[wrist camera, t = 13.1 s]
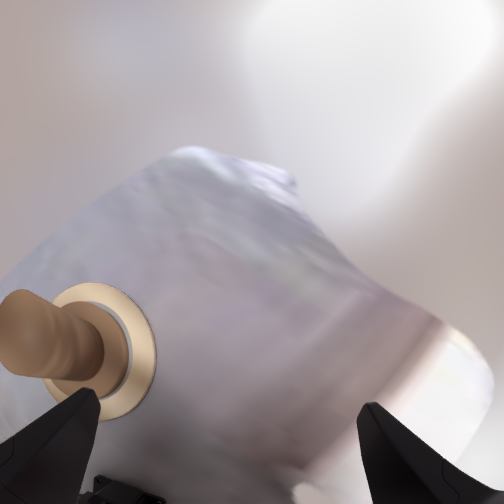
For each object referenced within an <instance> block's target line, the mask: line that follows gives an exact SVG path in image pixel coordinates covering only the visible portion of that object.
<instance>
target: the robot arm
mask: <svg viewBox="0 0 504 504" xmlns="http://www.w3.org/2000/svg"><path fill="white" fill-rule="evenodd" d="M100 411H101V404H100V402H99V399H98V397H97V395H96V392H95V391H94V390H93V389H91V388H87V387H82V388H80V389H79V390H77V391H76V392H75V393H73V394H72V395H70V396H69V397H67V398H66V399H65V400H63V401H62V402H60V403H59V404H58V405H56V406H55V407H53V408H52V409H50V410H49V411H48V412H46V413H45V414H43V415H42V416H41V417H39V418H38V419H36V420H35V421H33V422H32V423H31V424H29V425H28V426H26V427H25V428H23V429H22V430H20V431H19V432H18V433H16V434H15V435H14V436H12V437H10V438H9V439H7V440H6V441H4V442H3V443H1V444H0V504H159V503H158V501H160V502H162V504H166V501H165V500H164V499H163V498H161V497H157V496H154V495H151V494H148V493H145V492H143V491H141V490H139V489H137V488H134V487H131V486H128V485H126V484H123V483H120V482H118V481H112V480H110V479H107V478H105V477H103V476H100V475H97V476H96V477H94V486H93V493H92V492H89V491H87V492H86V493H84V494H83V495H82V494H79V492H80V488H81V485H82V481H83V478H84V474H85V471H86V467H87V464H88V461H89V458H90V454H91V451H92V448H93V444H94V440H95V435H96V430H97V425H98V420H99V416H100ZM357 428H358V435H359V442H360V449H361V456H362V461H363V465H364V469H365V473H366V477H367V481H368V485H369V489H370V493H371V497H372V501H373V504H504V491H499V490H495V489H492V488H490V487H488V486H486V485H484V484H482V483H481V482H479V481H477V480H475V479H474V478H472V477H470V476H469V475H467V474H465V473H464V472H462V471H461V470H459V469H458V468H457V467H455V466H454V465H453V464H451V463H450V462H449V461H447V460H446V459H445V458H443V457H442V456H441V455H440V454H438V453H437V452H436V451H435V450H434V449H432V448H431V447H430V446H429V445H427V444H426V443H425V442H424V441H422V440H421V439H420V438H419V437H418V436H416V435H415V434H414V433H413V432H412V431H410V430H409V429H408V428H407V427H406V426H404V425H403V424H402V423H401V422H400V421H398V420H397V419H396V418H395V417H394V416H392V415H391V414H390V413H389V412H388V411H387V410H385V409H384V408H383V407H382V406H381V405H379V404H378V403H377V402H370V403H365V404H364V405H363V407H362V409H361V411H360V413H359V415H358V417H357ZM98 479H100V480H101V482H100V481H99V480H98Z"/></svg>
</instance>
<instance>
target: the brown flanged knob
mask: <svg viewBox="0 0 504 504" xmlns="http://www.w3.org/2000/svg"><path fill="white" fill-rule="evenodd" d="M0 361H1V363H2V364H3V366H4V367H5V368H6V369H7V370H8V371H10V372H11V373H13V374H16V375H21V376H28V377H36V378H45V379H51V381H52V382H53V384H54V385H55V386H56V387H57V388H58V389H59V390H60V391H61V392H63V393H64V394H66V395H67V396H70V395H72V394H73V393H75V392H76V391H77V390H79V389H80V388H82V387H87V388H91V389H93V390H94V391H95V392H96V395H97V397H98V399H100V398H104V397H106V396H108V395H110V394H111V393H113V392H114V391H115V390H116V389H117V388H118V387H119V386H120V384H121V383H122V381H123V379H124V377H125V375H126V372H127V368H128V363H129V348H128V343H127V339H126V336H125V333H124V331H123V329H122V327H121V326H120V324H119V323H118V321H117V320H116V319H115V318H114V317H113V316H112V315H111V314H109V313H108V312H106V311H105V310H103V309H102V308H100V307H98V306H96V305H94V304H92V303H89V302H84V301H76V302H71V303H68V304H66V305H64V306H62V307H61V308H60V307H58V306H56V305H54V304H52V303H50V302H48V301H47V300H45V299H43V298H41V297H39V296H38V295H36V294H34V293H32V292H31V291H28V290H24V289H20V290H16V291H14V292H12V293H10V294H9V295H8V296H7V297H6V298H5V299H4V300H3V302H2V303H1V305H0Z"/></svg>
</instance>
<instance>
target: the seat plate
mask: <svg viewBox="0 0 504 504" xmlns="http://www.w3.org/2000/svg"><path fill="white" fill-rule="evenodd" d="M76 301H84V302H89V303H92V304H94V305H96V306H98V307H100V308H102V309H103V310H105V311H106V312H108V313H109V314H111V315H112V316H113V317H114V318H115V319H116V320H117V321H118V323H119V324H120V326H121V327H122V329H123V331H124V333H125V336H126V339H127V343H128V348H129V363H128V368H127V372H126V375H125V377H124V379H123V381H122V383H121V384H120V386H119V387H118V388H117V389H116V390H115V391H114V392H113V393H111V394H110V395H108V396H106V397H104V398H100V399H99V402H100V404H101V411H100V416H99V420H98V421H103V420H109V419H113V418H117V417H120V416H122V415H124V414H127V413H128V412H130V411H131V410H133V409H134V408H135V407H136V406H137V405H138V404H139V403H140V402H141V401H142V400H143V398H144V397H145V395H146V394H147V392H148V390H149V388H150V386H151V383H152V381H153V377H154V373H155V367H156V347H155V341H154V336H153V333H152V330H151V327H150V325H149V323H148V321H147V319H146V317H145V316H144V314H143V313H142V311H141V310H140V309H139V307H138V306H137V305H136V304H135V303H134V302H133V301H132V300H131V299H130V298H129V297H127V296H126V295H125V294H123V293H122V292H121V291H119V290H117V289H115V288H113V287H111V286H108V285H105V284H100V283H83V284H79V285H76V286H73V287H71V288H69V289H67V290H66V291H64V292H62V293H61V294H60V295H59V296H57V297H56V299H55V300H54V301H53V302H52V304H54V305H56V306H58V307H60V308H61V307H62V306H64V305H66V304H68V303H71V302H76ZM42 380H43V382H44V384H45V386H46V388H47V389H48V391H49V392H50V394H51V395H52V396H53V398H54V399H55V400H56V401H57V402H58V403H60V402H62V401H63V400H65V399H66V398H67V397H69V396H67V395H66V394H64V393H63V392H61V391H60V390H59V389H58V388H57V387H56V386H55V385H54V384H53V382H52V381H51V379H45V378H42Z"/></svg>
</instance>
